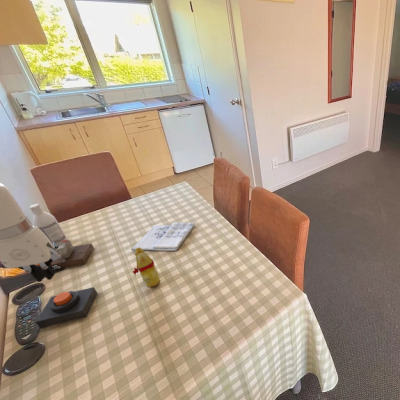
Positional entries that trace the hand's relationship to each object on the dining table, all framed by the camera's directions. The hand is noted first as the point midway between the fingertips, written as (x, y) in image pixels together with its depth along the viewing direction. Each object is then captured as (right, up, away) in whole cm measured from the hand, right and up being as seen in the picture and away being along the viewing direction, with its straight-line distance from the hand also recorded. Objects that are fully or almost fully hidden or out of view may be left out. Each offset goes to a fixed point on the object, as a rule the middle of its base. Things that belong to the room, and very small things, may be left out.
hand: (47, 277), depth 80 cm
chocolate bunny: (+19, -7, +19) cm, 27 cm away
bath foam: (-33, +4, +37) cm, 50 cm away
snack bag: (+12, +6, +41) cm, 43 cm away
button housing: (0, -13, +8) cm, 15 cm away
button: (0, -9, +5) cm, 11 cm away
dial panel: (-19, -1, +28) cm, 34 cm away
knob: (-19, +2, +27) cm, 33 cm away
